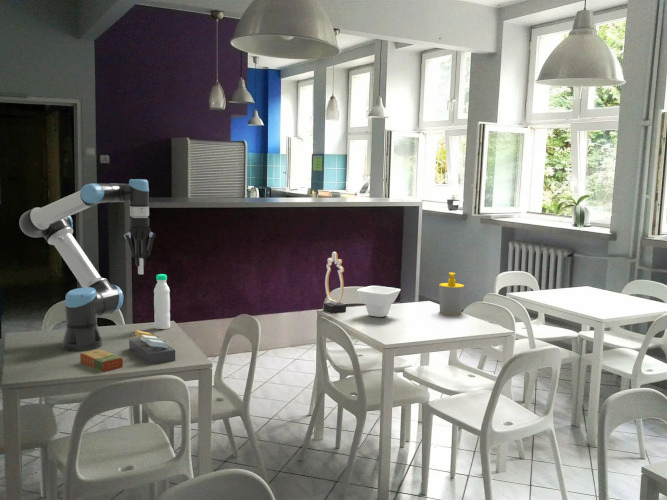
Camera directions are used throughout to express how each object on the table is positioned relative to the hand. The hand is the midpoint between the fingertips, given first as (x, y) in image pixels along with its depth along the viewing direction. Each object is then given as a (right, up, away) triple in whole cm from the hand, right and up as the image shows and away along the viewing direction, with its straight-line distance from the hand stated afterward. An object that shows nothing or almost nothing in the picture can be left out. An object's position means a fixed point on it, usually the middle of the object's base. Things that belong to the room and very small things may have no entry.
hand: (140, 273), depth 255 cm
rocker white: (+8, -25, -13) cm, 30 cm away
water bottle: (+1, -26, +30) cm, 40 cm away
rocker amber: (+4, -24, -7) cm, 26 cm away
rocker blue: (+12, -26, -19) cm, 35 cm away
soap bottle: (+142, -23, +74) cm, 162 cm away
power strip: (+6, -31, -9) cm, 33 cm away
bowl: (+103, -24, +61) cm, 122 cm away
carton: (-6, -33, -27) cm, 43 cm away
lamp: (+80, -23, +73) cm, 111 cm away
